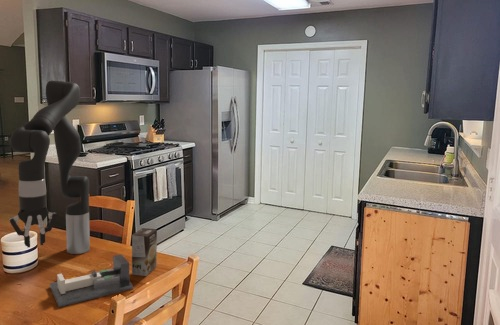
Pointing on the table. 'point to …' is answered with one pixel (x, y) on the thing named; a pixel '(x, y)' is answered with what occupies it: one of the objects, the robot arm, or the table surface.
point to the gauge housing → (98, 284)
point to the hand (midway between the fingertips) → (34, 245)
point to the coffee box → (144, 251)
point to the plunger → (76, 282)
